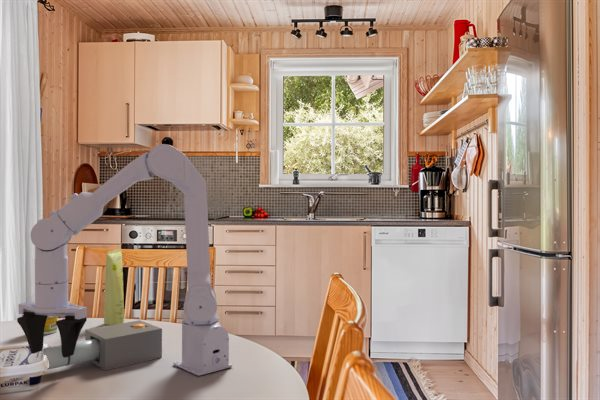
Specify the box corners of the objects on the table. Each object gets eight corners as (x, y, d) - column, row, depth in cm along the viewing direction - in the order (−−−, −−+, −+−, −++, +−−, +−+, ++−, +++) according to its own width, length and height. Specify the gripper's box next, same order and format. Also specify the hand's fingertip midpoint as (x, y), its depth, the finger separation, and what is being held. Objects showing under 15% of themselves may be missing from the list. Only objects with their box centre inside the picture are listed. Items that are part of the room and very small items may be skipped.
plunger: (141, 337, 112) (141, 323, 112) (147, 340, 111) (147, 325, 111) (131, 339, 111) (131, 324, 111) (136, 342, 109) (136, 326, 109)
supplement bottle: (33, 330, 130) (33, 291, 130) (57, 328, 133) (57, 290, 133) (32, 336, 125) (32, 295, 125) (57, 333, 128) (57, 293, 128)
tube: (126, 324, 137) (127, 250, 137) (106, 327, 134) (106, 251, 134) (121, 320, 142) (121, 248, 141) (101, 322, 139) (101, 249, 139)
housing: (139, 347, 116) (139, 320, 116) (161, 357, 109) (161, 328, 109) (85, 358, 108) (85, 329, 108) (105, 370, 101) (105, 339, 101)
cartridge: (109, 353, 108) (109, 333, 108) (117, 357, 105) (117, 337, 105) (42, 367, 100) (42, 345, 99) (49, 372, 97) (49, 350, 96)
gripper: (97, 280, 100) (98, 351, 100) (39, 277, 105) (39, 344, 105) (70, 286, 93) (70, 362, 93) (8, 282, 98) (9, 354, 98)
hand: (52, 354), depth 99 cm, fingers open, 7 cm apart
